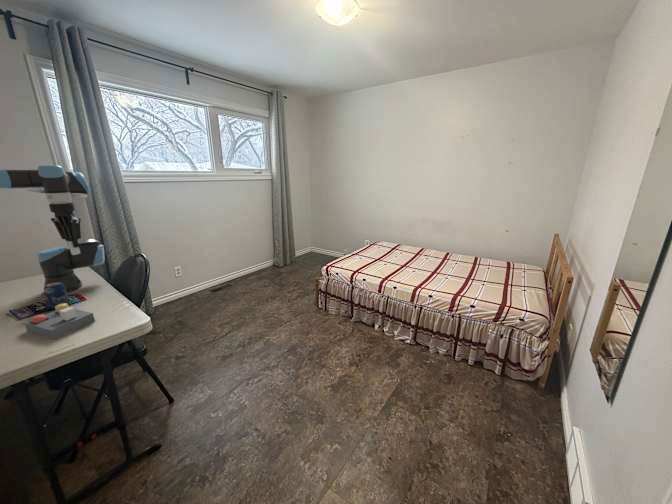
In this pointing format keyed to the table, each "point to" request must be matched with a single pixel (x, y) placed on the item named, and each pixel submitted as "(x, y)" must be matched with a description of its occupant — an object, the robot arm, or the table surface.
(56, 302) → the soda can
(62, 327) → the panel
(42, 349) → the table surface
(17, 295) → the table surface
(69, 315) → the slider
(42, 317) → the button red
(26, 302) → the table surface
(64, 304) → the button ochre
